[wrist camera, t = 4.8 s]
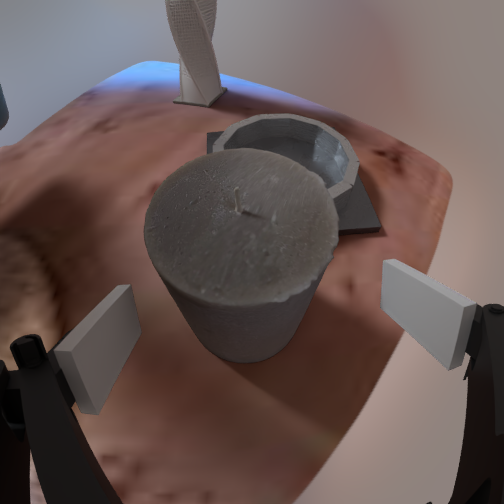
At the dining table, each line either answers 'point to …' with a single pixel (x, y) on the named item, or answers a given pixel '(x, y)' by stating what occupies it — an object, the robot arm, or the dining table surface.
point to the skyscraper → (195, 50)
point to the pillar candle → (242, 247)
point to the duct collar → (308, 160)
